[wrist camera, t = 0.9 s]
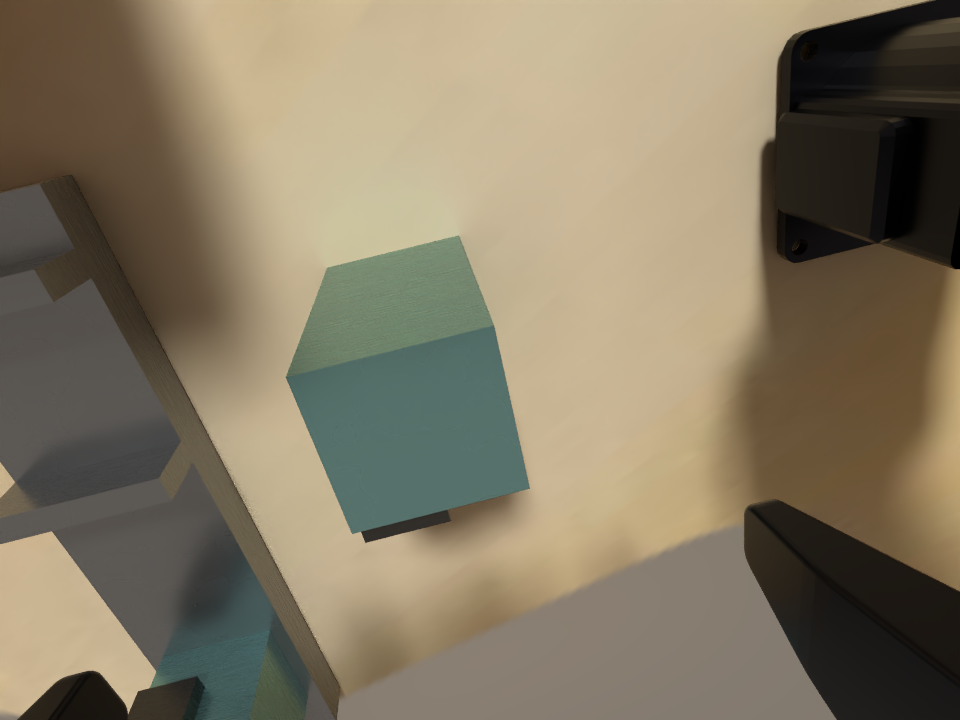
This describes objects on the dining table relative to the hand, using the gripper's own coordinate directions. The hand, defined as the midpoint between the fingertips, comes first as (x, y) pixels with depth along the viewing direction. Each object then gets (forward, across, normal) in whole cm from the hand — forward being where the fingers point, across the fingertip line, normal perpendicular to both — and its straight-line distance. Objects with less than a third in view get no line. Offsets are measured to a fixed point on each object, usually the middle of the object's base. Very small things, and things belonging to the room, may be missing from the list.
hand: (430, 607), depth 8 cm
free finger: (+11, 0, 0) cm, 11 cm away
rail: (+11, +10, +5) cm, 16 cm away
